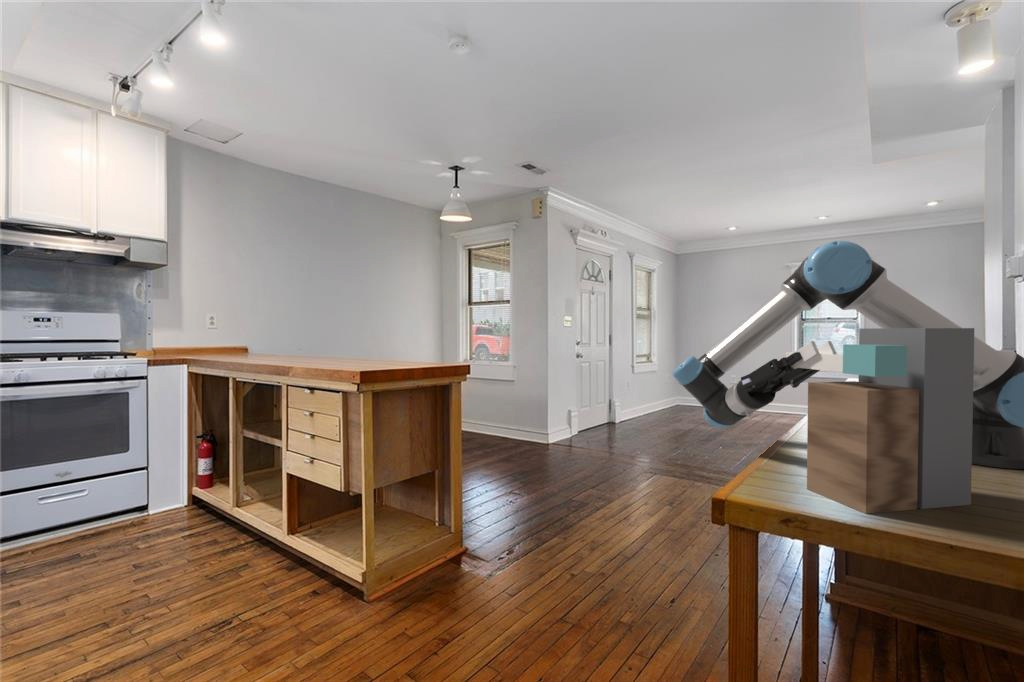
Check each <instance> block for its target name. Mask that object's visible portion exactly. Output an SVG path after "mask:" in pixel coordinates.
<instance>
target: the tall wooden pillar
mask: <svg viewBox="0 0 1024 682" xmlns="http://www.w3.org/2000/svg"><path fill="white" fill-rule="evenodd" d="M918 430H919V389H915V388H907V387H898V386H890V385H881V384H873V383H864V382H859V381H855V380H852V381H851V380H850V381H847V380H846V381H845V380H844V381H815V382H814V381H813V382H812V381H811V382H810V381H809V382H807V437H806V438H807V441H806V442H807V444H806V445H807V446H806V449H807V451H806V453H807V454H806V455H807V456H806V490H808V491H811V492H812V493H816V494H817V495H820V496H823V497H825V498H827V499H829V500H832V501H834V502H837V503H839V504H842V505H844V506H846V507H848V508H851V509H854V510H856V511H858V512H860V513H863V514H878V513H879V514H880V513H889V512H900V511H902V512H903V511H914V510H915V511H916V510H918V507H917V486H918Z"/></svg>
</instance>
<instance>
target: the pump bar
mask: <svg viewBox="0 0 1024 682" xmlns="http://www.w3.org/2000/svg"><path fill="white" fill-rule="evenodd" d="M794 352H795V351H786V352H785V357H788V356H790V355H791V354H793V353H794ZM906 356H907V346H902V345H859V344H842V354H839V353H837V354H825V353H820V354H819V355H817V356H815V357H814V358H812V359H811V360H809V361H807V362H806V363H804V364H803V365H801V366H800V367H798V368H805V369H814V370H820V371H824V372H825V371H827V372H836V373H842V374H847V375H854V376H855V375H857V376H859V375H864V376H874V377H885V376H906ZM791 367H792V366H791Z"/></svg>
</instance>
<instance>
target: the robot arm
mask: <svg viewBox="0 0 1024 682" xmlns="http://www.w3.org/2000/svg"><path fill="white" fill-rule="evenodd" d="M887 277H888V274H887V268H885V267H884V266H882V265H880V264H879V263H877V262H875V260H873V259H872V258H871V256H870V254H869V253H868V251H867V250H866V249H865V247H862V246H861V245H859V244H857V243H855V242H851V241H848V240H847V241H846V240H835V241H830V242H827V243H824V244H821V245H820V246H818V247H816V248H815V249H814V250H813V251H812V252H810V253H809V255H808V256H807V257H805V259H804V260H803V261H802V262H801V264H800V265H799V266H798V268H796V269H795V270H794V272H793V273H792V274H791V275H790V276H788V278H786V280H785V281H783V282H782V283H781V284H780V290H779V291H778V292H777V293H775V294H774V295H773V296H772V297H771V298H769V299H768V300H767V301H766V302H765V303H763V304H762V305H761V306H760V307H758V308H757V309H756V310H755V311H754V312H753V313H751V314H750V315H749V316H747V318H746V319H744V320H743V321H741V323H740V324H738V325H737V326H736V327H735V328H734V329H731V331H730V332H728V334H727V335H725V336H724V337H723V338H722V339H721V340H719V341H718V342H717V343H716V344H714V345H713V346H712V347H711V348H709V349H708V350H707V351H706V352H705V353H704V354H703V355H701V356H700V357H699V358H697V357H695V356H694V355H689V356H688V357H687V358H686V359H685V360H684V361H683V362H681V364H679V365H678V366H677V367H676V368H675V369H674V370H673V371H672V376H673V378H675V381H677V382H678V384H679V385H681V386H682V387H683V388H684V389H685V390H687V392H688V393H689V394H690V395H692V397H694V398H695V399H696V400H697V401H698V402H699V404H700V405H701V406H702V407H703V412H702V413H703V414H702V415H703V416H704V418H705V422H707V423H708V425H710V426H711V427H713V428H715V429H725V428H728V427H730V426H733V425H736V424H737V423H738V422H740V421H741V420H743V419H745V418H747V417H751V416H752V414H753V413H755V412H756V411H758V410H760V409H762V408H765V407H766V406H767V405H769V404H772V402H773V401H774V400H775V397H776V395H777V393H778V392H780V391H781V390H782V389H784V388H786V387H787V386H791V387H792V388H793V389H795V388H798V387H799V386H800V385H801V384H802V383H803V382H805V381H806V380H808V379H809V378H811V377H813V376H814V375H815V374H817V373H818V372H820V371H821V370H814V369H805V368H798V367H800V366H801V365H803V364H804V363H806V362H807V361H809V360H811V359H812V358H814V357H815V356H817V355H819V354H820V353H825V354H838V353H837V351H836V348H835V347H834V344H833V342H832V341H831V340H827V341H825V342H824V343H822V344H821V345H819V346H817V345H816V342H815V341H814V340H811V341H809V342H807V343H806V344H804V345H802V346H801V347H800V348H798V349H797V350H796V351H793V352H794V353H793V354H791V355H790V356H788V357H786V356H785V357H782V358H781V359H779V360H778V359H777V358H773V359H771V360H769V361H768V362H766V363H764V364H763V365H761V366H759V367H758V368H756V369H755V370H754V371H752V372H750V373H749V374H746V375H744V376H741V377H740V380H739V381H738V382H736V383H735V384H733V385H732V386H731V387H729V388H728V387H727V386H726V385H725V384H724V383H723V382H722V381H721V380H720V378H722V377H723V376H724V375H725V374H726V373H728V372H729V371H730V370H731V369H732V368H734V367H735V366H736V365H738V363H740V362H741V361H743V360H744V359H745V358H746V357H747V356H749V355H750V354H751V353H753V352H754V351H755V350H756V349H758V348H759V347H760V346H762V344H764V343H765V342H766V341H767V340H769V339H770V338H771V337H772V336H773V335H775V334H776V333H778V331H780V330H781V329H782V328H784V327H785V326H786V325H788V324H789V323H790V322H791V321H792V320H793V319H795V318H796V317H797V316H798V315H799V314H801V313H802V312H804V311H809V312H810V311H812V310H813V309H814V308H815V307H816V306H818V305H820V304H821V303H822V302H824V301H825V300H828V301H829V302H831V303H832V304H833V305H835V306H836V307H837V308H839V309H841V310H843V311H848V310H849V311H851V310H855V311H856V312H858V313H860V314H861V315H862V316H864V317H865V318H867V319H868V320H870V321H871V322H872V323H874V324H876V326H878V327H879V328H962V327H961V326H960V325H958V324H957V323H955V322H954V321H952V320H950V319H949V318H947V317H946V316H944V315H943V314H941V313H940V312H938V311H936V310H935V309H933V308H932V307H930V306H929V305H927V304H926V303H924V302H922V301H921V300H920V299H918V298H916V296H913V295H912V294H911V293H909V292H908V291H906V290H905V289H903V288H901V287H900V286H898V285H897V284H895V283H894V282H892V281H890V280H889V279H888V278H887ZM791 366H792V367H791ZM972 464H974V465H978V466H985V467H992V468H999V469H1000V468H1001V469H1009V470H1011V469H1013V470H1024V357H1023V356H1022V355H1020V354H1019V353H1017V352H1015V350H1010V349H1005V350H998V349H996V348H994V347H992V346H990V345H989V344H987V343H986V342H984V341H982V340H981V339H979V338H978V337H977V336H975V335H974V376H973V426H972Z"/></svg>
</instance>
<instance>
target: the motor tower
mask: <svg viewBox="0 0 1024 682" xmlns="http://www.w3.org/2000/svg"><path fill="white" fill-rule="evenodd" d="M858 329H859V330H858V335H859V336H858V345H902V346H907V356H906V376H885V377H874V376H864V375H858V382H864V383H873V384H881V385H890V386H898V387H907V388H915V389H919V430H918V486H917V509H918V508H919V509H921V510H926V509H937V508H938V509H939V508H950V507H951V508H952V507H962V506H971V505H972V473H973V472H972V467H973V465H972V426H973V376H974V336H975V328H974V327H972V328H971V327H961V328H881V327H879V328H858Z"/></svg>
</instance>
